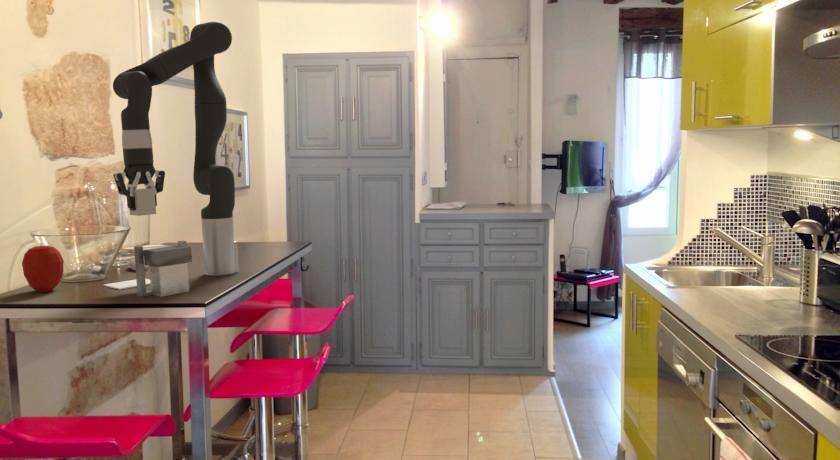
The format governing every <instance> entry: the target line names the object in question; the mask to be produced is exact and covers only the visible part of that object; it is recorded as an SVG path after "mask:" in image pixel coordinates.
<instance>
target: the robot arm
mask: <svg viewBox="0 0 840 460" xmlns="http://www.w3.org/2000/svg"><path fill="white" fill-rule="evenodd" d="M190 31H191V32H190V36H189V40H188V41H186V42H184V43H182V44H180V45H176V46H174V47H171V48H169V49H167V50H164V51H163V52H160V53H158V54H157V55H155V56H152V57H151V58H149V59H148V60H147V61H145V62H143V63H141V64H139V65H136V66H134V67H132V68H129V69H126V70H125V71H122V72H120V73H119V74H118V75H117V76H116V77H115V78H114V79H113V83H112V89H113V91H114V93H115V95H116V96H118V97H119V98H120V99H123V100H124V99H125V100H127V106H126V107H125V108H123V109H122V110H121V112H120V119H121V120H120V122H121V130H122V131H121V146H122V157H123V165H124V169H123V171H121V172H114V173H113V178H114V182H115V185H116V187H117V192H118V194H119V195H122V196H125V197H126V205H127V208H128V209H129V208H130V210H131V211H134V210H136V206H135V197H133V196H134V193H135V192H134V190H136V189H138V185H143V186H144V188H154V193H155V205H156V207H157V205H158V203H157V202H158V201H157V194H159V193H162V192H163V190H164V184H165V177H166V172H165V171H164V170H159V169H158V170H157V169H156V168H155V166H154V151H153V139H152V134H151V133H152V132H151V130H150V129H151V127H150V117H149V115H150V114H149V113H150V109H151V103H152V96H153V87H154V86H159V85H161V84H164V83H165V82H167V81H168V80H170V79H172V78H173V77H175V76H176V75H178V74H180V73H182V72H184V71H185V70H186V69H188V68H190V67H192V66H193V67H192V69H193V84H194V85H193V87H194V88H193V89H194V120H195V121H194V122H195V124H194V125H195V127H194V128H195V130H194V131H195V135H194V136H195V137H194V138H195V139H194V140H195V146H194V147H195V148H194V149H195V150H194V161H193V162H194V163H193V173H192V174H193V175H192V176H193V184H194V187H195V190H196V191H197V193H199V194H201V195H204V196H209V202H208V204H207V205H206V206H204V207H203V208H201V210H200V217H201V219H200V220H201V221H200V222H201V237H202V250H203V251H202V252H203V265H204V266H203V267H204V275H206V276H209V277H211V276H215V277H216V276H218V277H219V276H229V275H233V274H235V273H239V254H238V253H239V252H238V250H239V249H238V242H237V241H236V240H235V232H234V230H235V229H234V215H233V213H234V209H235V204H236V203H235V202H236V184H235V176H234V173H233V170H231V168H230V167H229V166H227V165H226V164H217V159H216V158H217V149H218V148H217V147H218V144H219V141H220V139H221V137H222V136H223V133H224V130H225V128H226V125H227V118H228V114H227V111H228V109H227V99H226V95H225V92H224V91H223V88H222V86H221V85H220V82H219V80H218V78H217V75H216V70H215V69H216V68H215V55H217V54H218V55H219V54H222V53H224V52H226V51H227V50H228V49H229V48H230V47H231V45H232V41H233V36H232V33H231V30H230V28H229V27H228V26H227V24H225V23H223V22H220V21H208V22H204V23H200V24H196V25H194V26H193V28H192V29H191V30H190ZM153 177H154V178H155V182H154V180H153ZM125 178H126V179H127V180H128V181H127V184H125ZM130 210H129V211H130Z"/></svg>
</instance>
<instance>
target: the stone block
mask: <svg viewBox="0 0 840 460" xmlns="http://www.w3.org/2000/svg"><path fill="white" fill-rule="evenodd" d="M134 192H135V193H134V196H133V197H135V206H136V210H134V211H131V210H130V208H128V209H129V215H130V216H136V217H138V216H148V215H149V216H150V215H156V214H157V209H156V207H157V206H156V205H155V193H154V188H146V187H143V188H136V190H134Z"/></svg>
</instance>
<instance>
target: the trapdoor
mask: <svg viewBox="0 0 840 460" xmlns="http://www.w3.org/2000/svg"><path fill="white" fill-rule="evenodd" d="M142 246H143V255H144V264H145V265H148V266H154V267H160V266H167V265H174V264H180V263H187V262H188V263H193V258H192V256H193V255H192V246H188V245H187V246H181V245H178V244H177V245H166V244H159V243H154V244H146V245H145V244H144V245H142ZM121 252H122V253H127V254H133V255H135V253H134V246H129V247H122V248H121Z"/></svg>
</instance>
